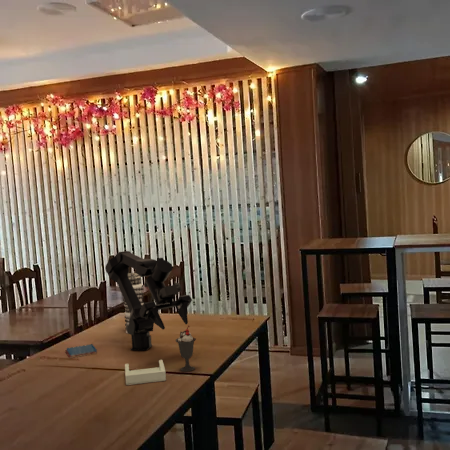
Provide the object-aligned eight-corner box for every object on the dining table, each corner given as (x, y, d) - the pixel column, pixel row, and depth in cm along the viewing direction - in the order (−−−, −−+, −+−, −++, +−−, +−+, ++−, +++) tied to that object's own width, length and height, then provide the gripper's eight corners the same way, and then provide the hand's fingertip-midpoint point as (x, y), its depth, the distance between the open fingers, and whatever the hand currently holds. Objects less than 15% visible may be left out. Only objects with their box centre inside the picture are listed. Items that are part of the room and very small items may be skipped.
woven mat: (64, 352, 219) (64, 347, 219) (92, 348, 223) (92, 343, 223) (69, 360, 209) (68, 354, 209) (98, 355, 213) (97, 349, 213)
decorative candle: (150, 329, 246) (146, 271, 245) (138, 334, 238) (134, 275, 236) (133, 328, 250) (129, 271, 249) (120, 333, 242) (116, 275, 240)
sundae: (195, 372, 185) (192, 327, 184) (175, 372, 187) (172, 327, 186) (200, 366, 192) (197, 322, 191) (180, 365, 193) (178, 322, 192)
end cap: (125, 372, 189) (124, 364, 189) (162, 368, 191) (162, 359, 191) (126, 385, 177) (125, 375, 177) (166, 380, 179) (165, 371, 179)
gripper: (141, 279, 192) (159, 318, 185) (188, 272, 203) (207, 308, 196) (132, 298, 200) (148, 336, 192) (177, 290, 211) (195, 326, 203)
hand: (175, 326), depth 195 cm, fingers open, 9 cm apart
